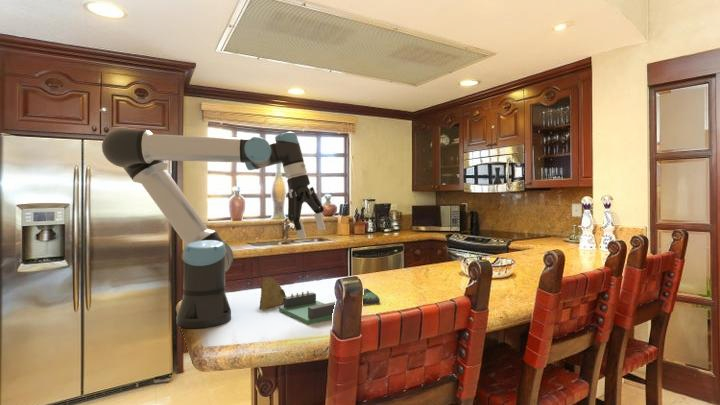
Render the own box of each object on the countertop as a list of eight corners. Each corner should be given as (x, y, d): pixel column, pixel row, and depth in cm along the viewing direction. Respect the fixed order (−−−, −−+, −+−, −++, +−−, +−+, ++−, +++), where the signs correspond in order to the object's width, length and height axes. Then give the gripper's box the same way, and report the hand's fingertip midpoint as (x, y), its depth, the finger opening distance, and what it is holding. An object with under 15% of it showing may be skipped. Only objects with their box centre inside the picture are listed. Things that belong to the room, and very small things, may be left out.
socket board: (308, 324, 106) (308, 306, 106) (279, 310, 120) (279, 295, 120) (346, 315, 115) (346, 298, 115) (315, 303, 129) (315, 288, 129)
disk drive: (341, 297, 141) (352, 307, 126) (341, 290, 141) (352, 298, 126) (367, 295, 144) (380, 304, 130) (367, 288, 144) (380, 296, 130)
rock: (287, 293, 135) (259, 291, 132) (291, 277, 131) (262, 274, 128) (286, 317, 127) (257, 316, 124) (291, 301, 122) (260, 299, 119)
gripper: (285, 176, 116) (303, 241, 117) (322, 171, 139) (337, 225, 140) (266, 182, 119) (284, 245, 120) (306, 176, 142) (321, 229, 143)
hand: (313, 234), depth 130 cm, fingers open, 13 cm apart
